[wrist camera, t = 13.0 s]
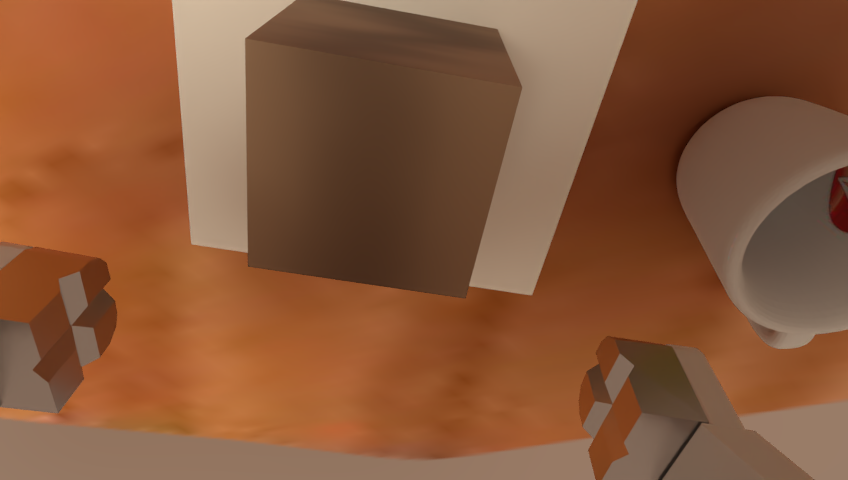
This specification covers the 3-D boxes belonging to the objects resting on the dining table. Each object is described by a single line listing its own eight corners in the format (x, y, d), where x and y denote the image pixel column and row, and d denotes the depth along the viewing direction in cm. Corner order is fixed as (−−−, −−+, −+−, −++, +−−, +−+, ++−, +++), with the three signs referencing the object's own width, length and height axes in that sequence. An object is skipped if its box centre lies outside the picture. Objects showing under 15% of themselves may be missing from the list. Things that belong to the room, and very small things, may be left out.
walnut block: (497, 28, 17) (522, 87, 12) (458, 196, 20) (465, 298, 15) (304, -7, 16) (245, 38, 11) (297, 170, 20) (248, 266, 15)
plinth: (612, -97, 20) (671, -94, 15) (514, 221, 28) (531, 295, 22) (231, -176, 19) (156, -201, 14) (238, 177, 26) (191, 244, 21)
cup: (802, 262, 29) (914, 376, 22) (647, 281, 29) (708, 397, 23) (852, 57, 23) (1025, 126, 16) (657, 89, 24) (744, 166, 17)
